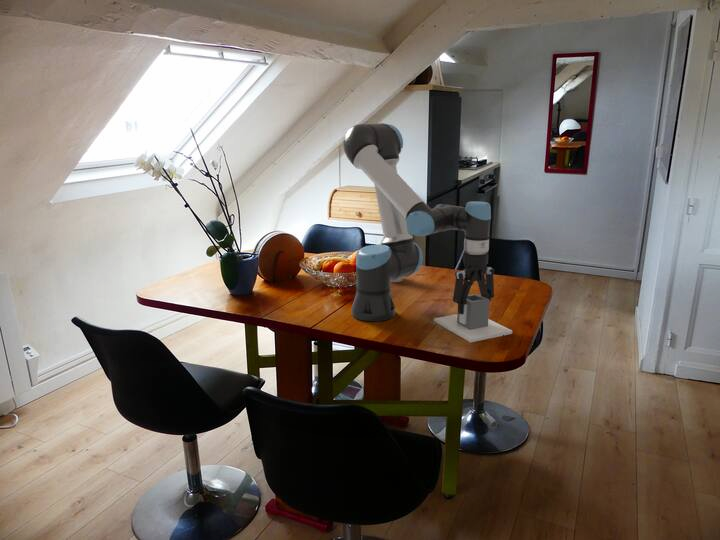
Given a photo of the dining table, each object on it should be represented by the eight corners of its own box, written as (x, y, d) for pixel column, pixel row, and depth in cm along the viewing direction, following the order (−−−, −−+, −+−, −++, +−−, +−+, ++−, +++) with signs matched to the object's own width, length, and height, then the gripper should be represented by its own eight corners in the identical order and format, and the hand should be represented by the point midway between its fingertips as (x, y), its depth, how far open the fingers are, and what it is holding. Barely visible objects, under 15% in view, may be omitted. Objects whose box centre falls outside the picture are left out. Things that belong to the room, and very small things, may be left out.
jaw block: (470, 329, 173) (471, 302, 170) (457, 322, 179) (458, 296, 176) (487, 326, 176) (489, 299, 173) (474, 319, 182) (475, 293, 179)
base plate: (470, 342, 165) (471, 321, 164) (433, 321, 183) (434, 302, 181) (512, 333, 172) (513, 313, 170) (473, 313, 190) (474, 295, 188)
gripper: (456, 258, 163) (453, 330, 169) (509, 251, 172) (504, 319, 178) (442, 252, 170) (439, 322, 176) (493, 246, 178) (489, 312, 184)
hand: (472, 321), depth 177 cm, fingers closed on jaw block, 7 cm apart
